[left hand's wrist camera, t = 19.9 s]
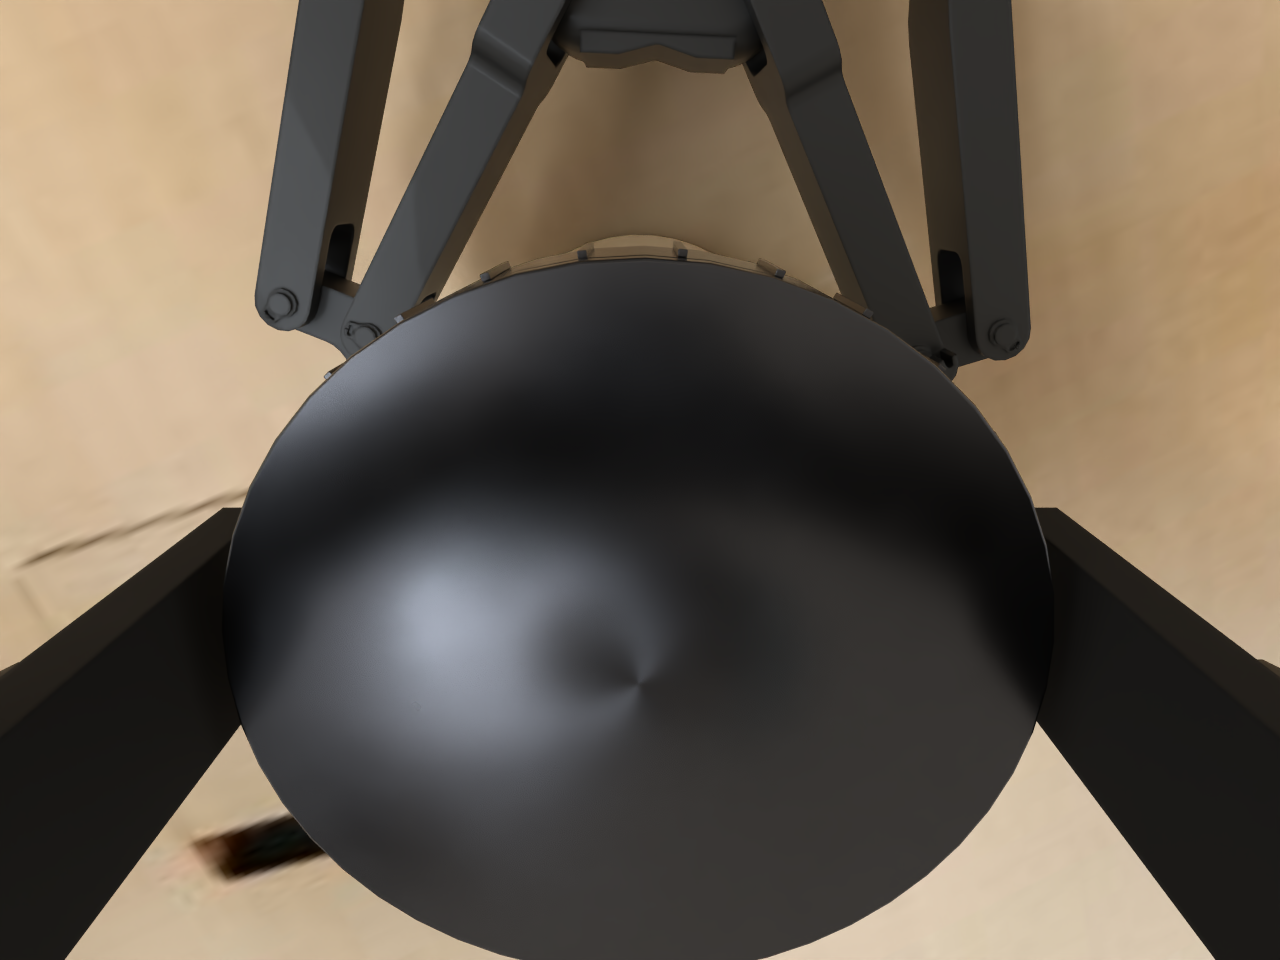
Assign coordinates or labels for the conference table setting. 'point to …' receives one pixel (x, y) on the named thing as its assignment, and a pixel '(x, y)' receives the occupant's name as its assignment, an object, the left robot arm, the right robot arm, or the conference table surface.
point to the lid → (638, 611)
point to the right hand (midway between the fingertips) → (632, 603)
